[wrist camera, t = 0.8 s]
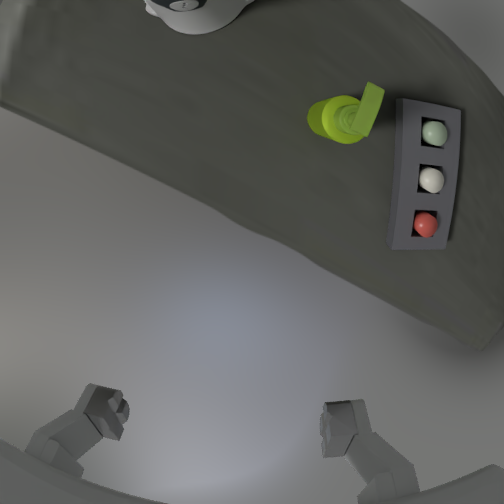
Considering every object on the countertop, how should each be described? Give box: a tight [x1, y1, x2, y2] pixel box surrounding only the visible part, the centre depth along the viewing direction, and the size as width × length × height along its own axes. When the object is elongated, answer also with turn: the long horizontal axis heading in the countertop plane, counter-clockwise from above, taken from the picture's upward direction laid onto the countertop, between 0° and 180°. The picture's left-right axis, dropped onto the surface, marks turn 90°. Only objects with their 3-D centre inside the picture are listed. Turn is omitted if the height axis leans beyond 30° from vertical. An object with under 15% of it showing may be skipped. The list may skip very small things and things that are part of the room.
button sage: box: [421, 121, 447, 146], centre depth 39 cm, size 4×4×3 cm
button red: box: [413, 210, 438, 238], centre depth 46 cm, size 4×4×3 cm
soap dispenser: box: [307, 82, 385, 144], centre depth 33 cm, size 6×7×20 cm
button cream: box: [418, 166, 444, 193], centre depth 42 cm, size 4×4×3 cm
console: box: [386, 98, 461, 250], centre depth 44 cm, size 26×12×3 cm, turn 2°
